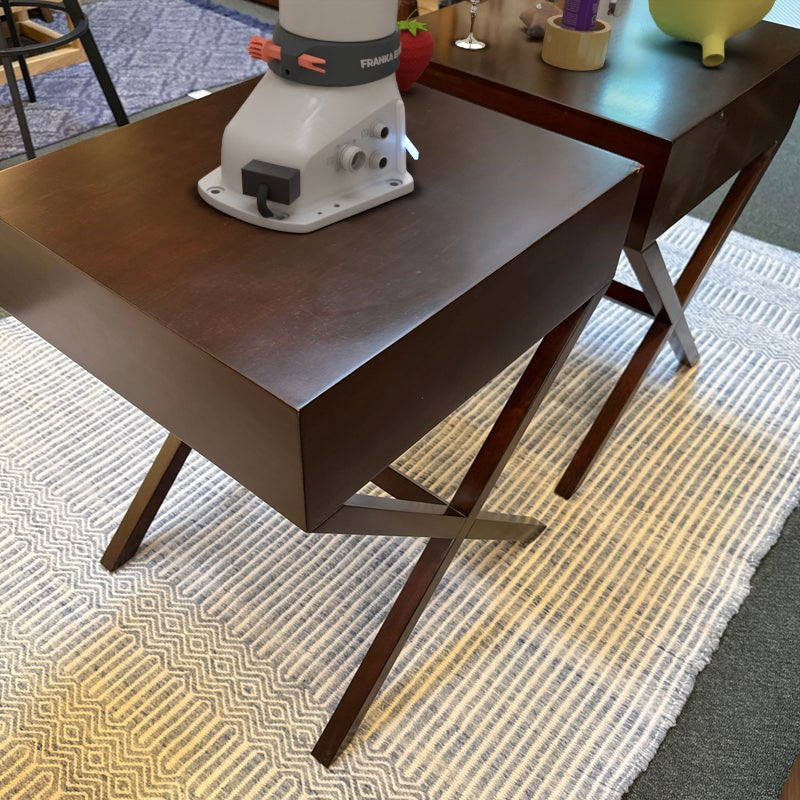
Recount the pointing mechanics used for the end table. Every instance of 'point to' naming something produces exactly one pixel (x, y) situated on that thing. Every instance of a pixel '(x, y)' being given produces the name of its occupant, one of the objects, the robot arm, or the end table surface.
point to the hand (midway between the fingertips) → (582, 8)
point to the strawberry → (413, 52)
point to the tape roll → (575, 45)
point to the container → (580, 15)
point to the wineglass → (470, 41)
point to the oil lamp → (538, 18)
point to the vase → (708, 21)
